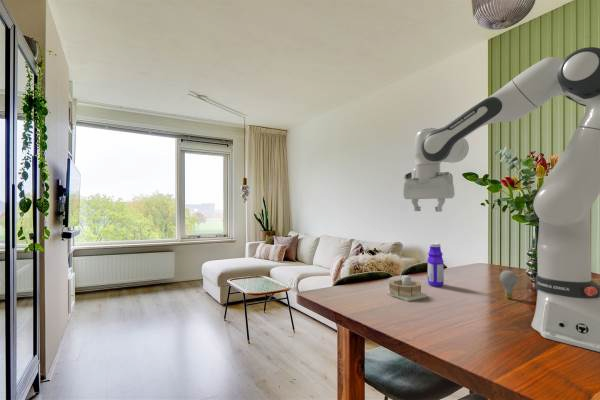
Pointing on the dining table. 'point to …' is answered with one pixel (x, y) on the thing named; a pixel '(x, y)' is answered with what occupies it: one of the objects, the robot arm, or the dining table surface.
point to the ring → (405, 288)
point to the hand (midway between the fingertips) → (427, 211)
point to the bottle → (435, 265)
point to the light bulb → (508, 282)
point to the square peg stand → (407, 282)
